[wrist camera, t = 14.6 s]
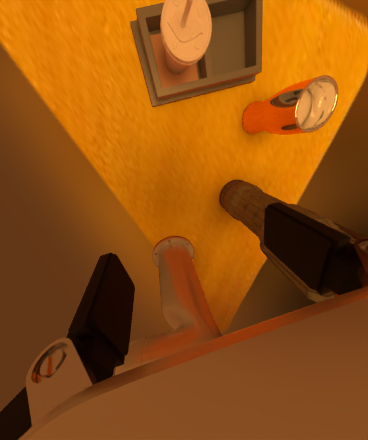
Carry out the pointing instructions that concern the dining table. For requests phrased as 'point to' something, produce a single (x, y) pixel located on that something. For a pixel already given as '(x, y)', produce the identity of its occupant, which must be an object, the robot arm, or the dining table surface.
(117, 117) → the dining table surface
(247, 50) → the drink carrier
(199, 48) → the smoothie
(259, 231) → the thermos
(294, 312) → the robot arm
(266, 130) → the beer glass
